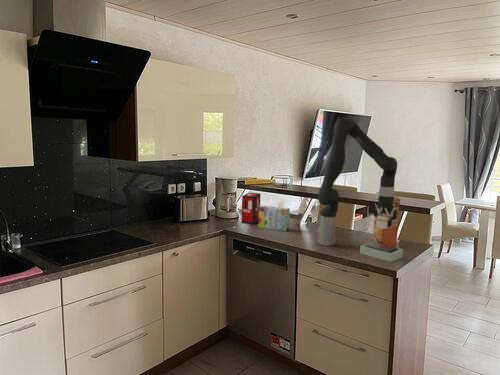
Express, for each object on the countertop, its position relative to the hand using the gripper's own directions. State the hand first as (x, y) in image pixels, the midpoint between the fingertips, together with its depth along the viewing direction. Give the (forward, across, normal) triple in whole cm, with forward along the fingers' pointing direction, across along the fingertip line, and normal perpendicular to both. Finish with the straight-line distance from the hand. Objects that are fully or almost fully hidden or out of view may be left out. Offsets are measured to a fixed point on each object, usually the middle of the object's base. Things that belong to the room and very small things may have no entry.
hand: (384, 226), depth 203 cm
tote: (+17, 0, 0) cm, 17 cm away
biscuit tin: (+16, 0, 0) cm, 16 cm away
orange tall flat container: (+17, -12, +24) cm, 32 cm away
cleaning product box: (+17, -104, -1) cm, 105 cm away
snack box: (+17, -78, -3) cm, 80 cm away
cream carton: (0, 0, 0) cm, 1 cm away
